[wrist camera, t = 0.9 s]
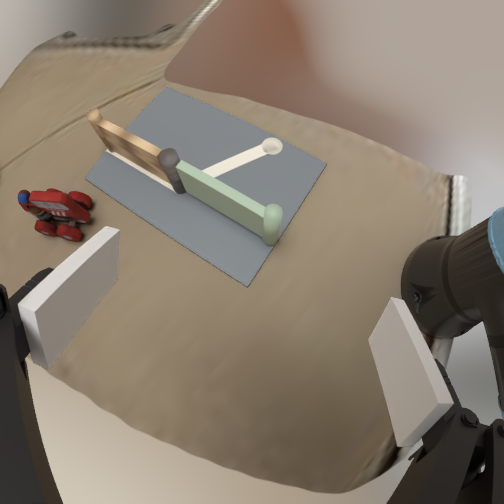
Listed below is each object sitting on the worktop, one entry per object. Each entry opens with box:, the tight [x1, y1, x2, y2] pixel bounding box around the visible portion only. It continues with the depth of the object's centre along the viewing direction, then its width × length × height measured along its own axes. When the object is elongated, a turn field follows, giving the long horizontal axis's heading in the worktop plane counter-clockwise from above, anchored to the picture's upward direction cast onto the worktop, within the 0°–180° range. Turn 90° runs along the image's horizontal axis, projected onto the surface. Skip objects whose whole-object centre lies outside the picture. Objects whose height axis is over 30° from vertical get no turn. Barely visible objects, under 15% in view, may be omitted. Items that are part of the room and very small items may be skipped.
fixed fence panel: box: [86, 108, 186, 194], centre depth 42 cm, size 17×2×10 cm, turn 57°
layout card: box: [85, 87, 327, 287], centre depth 47 cm, size 32×22×1 cm
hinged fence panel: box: [176, 160, 283, 245], centre depth 39 cm, size 14×2×9 cm, turn 57°
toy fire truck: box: [18, 189, 92, 241], centre depth 40 cm, size 7×12×10 cm, turn 80°
